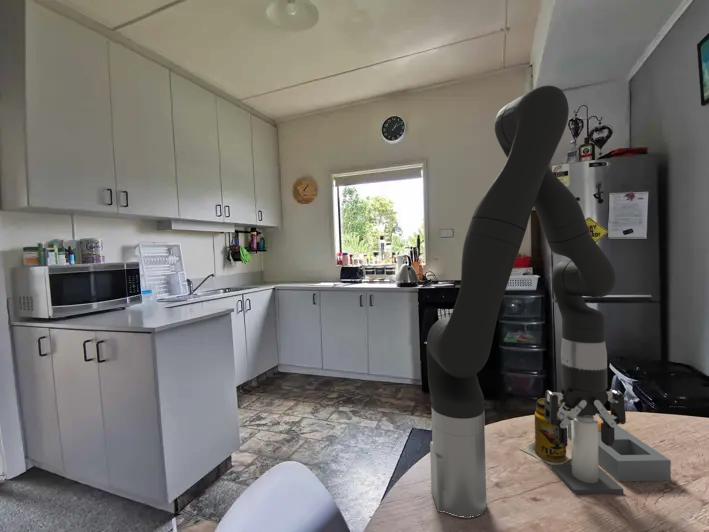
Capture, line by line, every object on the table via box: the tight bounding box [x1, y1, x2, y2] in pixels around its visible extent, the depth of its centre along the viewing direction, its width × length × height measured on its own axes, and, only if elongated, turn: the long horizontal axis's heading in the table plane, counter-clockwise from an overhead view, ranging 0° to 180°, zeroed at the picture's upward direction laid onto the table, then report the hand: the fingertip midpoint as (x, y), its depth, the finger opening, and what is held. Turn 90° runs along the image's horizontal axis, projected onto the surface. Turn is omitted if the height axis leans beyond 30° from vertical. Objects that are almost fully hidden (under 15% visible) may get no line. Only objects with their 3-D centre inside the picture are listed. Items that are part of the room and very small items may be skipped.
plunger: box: [595, 418, 603, 432], centre depth 82 cm, size 3×3×5 cm
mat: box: [550, 463, 624, 495], centre depth 70 cm, size 9×8×1 cm
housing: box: [567, 419, 672, 482], centre depth 77 cm, size 10×17×4 cm, turn 179°
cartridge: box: [571, 415, 599, 483], centre depth 69 cm, size 4×4×12 cm
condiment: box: [519, 397, 572, 466], centre depth 79 cm, size 7×8×12 cm
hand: (584, 444), depth 69 cm, fingers open, 8 cm apart
